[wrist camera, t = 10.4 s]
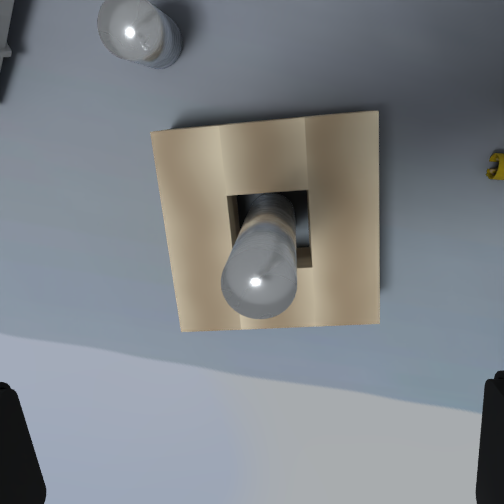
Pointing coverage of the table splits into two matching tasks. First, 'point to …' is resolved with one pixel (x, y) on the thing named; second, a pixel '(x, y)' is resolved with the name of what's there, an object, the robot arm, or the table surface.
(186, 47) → the table surface
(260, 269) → the long pin
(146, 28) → the short pin
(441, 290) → the table surface
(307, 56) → the table surface
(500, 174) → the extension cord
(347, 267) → the bored block
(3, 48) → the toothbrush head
